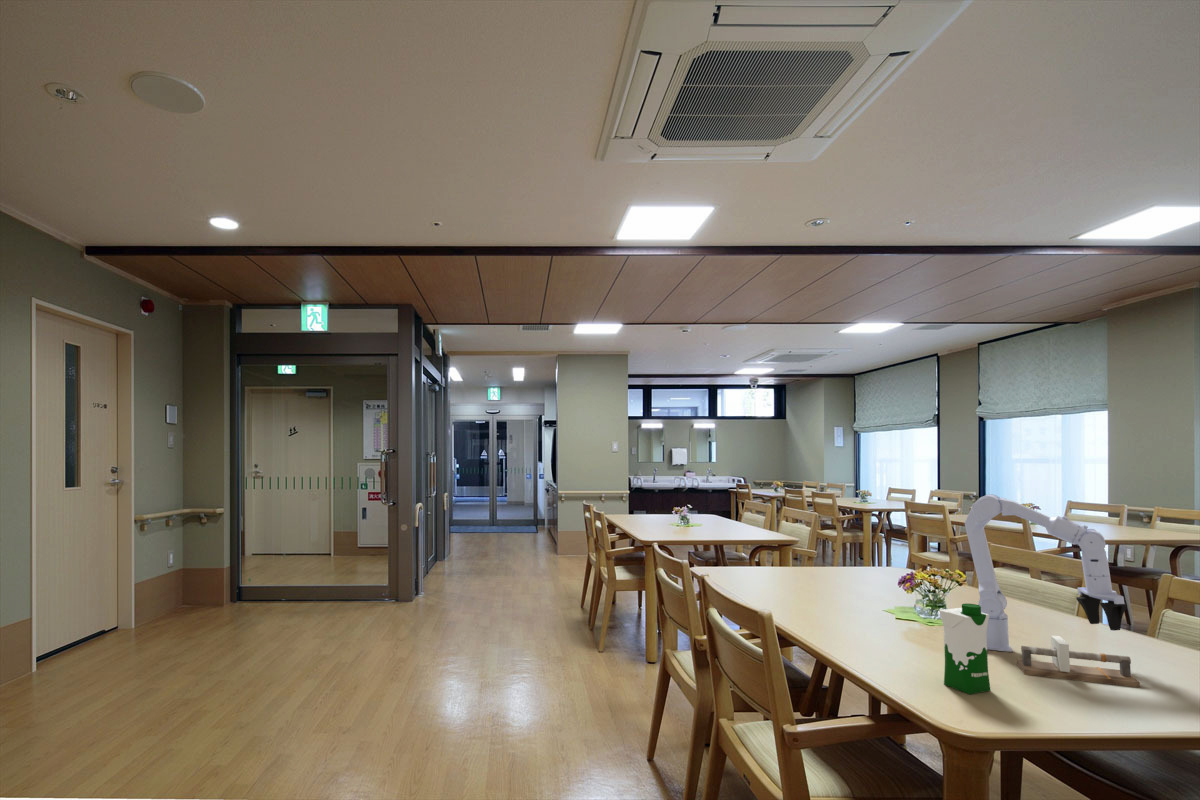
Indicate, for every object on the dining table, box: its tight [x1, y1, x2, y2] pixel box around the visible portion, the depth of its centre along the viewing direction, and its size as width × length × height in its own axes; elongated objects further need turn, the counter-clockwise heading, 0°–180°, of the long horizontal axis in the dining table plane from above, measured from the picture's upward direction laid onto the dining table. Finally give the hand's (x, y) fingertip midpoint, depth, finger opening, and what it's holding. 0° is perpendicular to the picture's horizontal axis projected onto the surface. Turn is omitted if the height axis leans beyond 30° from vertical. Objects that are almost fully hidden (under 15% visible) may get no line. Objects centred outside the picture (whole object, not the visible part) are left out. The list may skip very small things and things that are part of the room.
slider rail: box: [1016, 645, 1141, 688], centre depth 166 cm, size 24×9×6 cm, turn 67°
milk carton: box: [939, 603, 991, 695], centre depth 158 cm, size 9×9×20 cm
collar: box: [1050, 635, 1071, 672], centre depth 168 cm, size 2×8×7 cm, turn 158°
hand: (1104, 626), depth 174 cm, fingers open, 7 cm apart
